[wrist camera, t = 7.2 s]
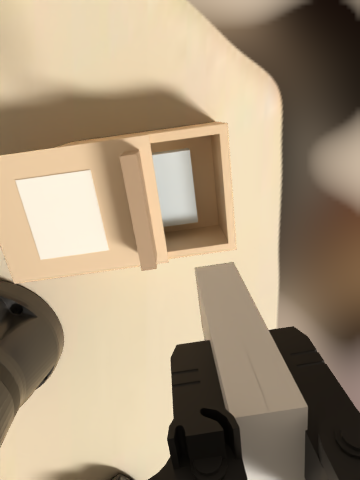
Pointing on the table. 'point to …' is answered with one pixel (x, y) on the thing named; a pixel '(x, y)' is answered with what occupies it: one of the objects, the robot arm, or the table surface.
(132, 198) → the lid
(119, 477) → the camera
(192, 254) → the box
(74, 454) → the table surface
